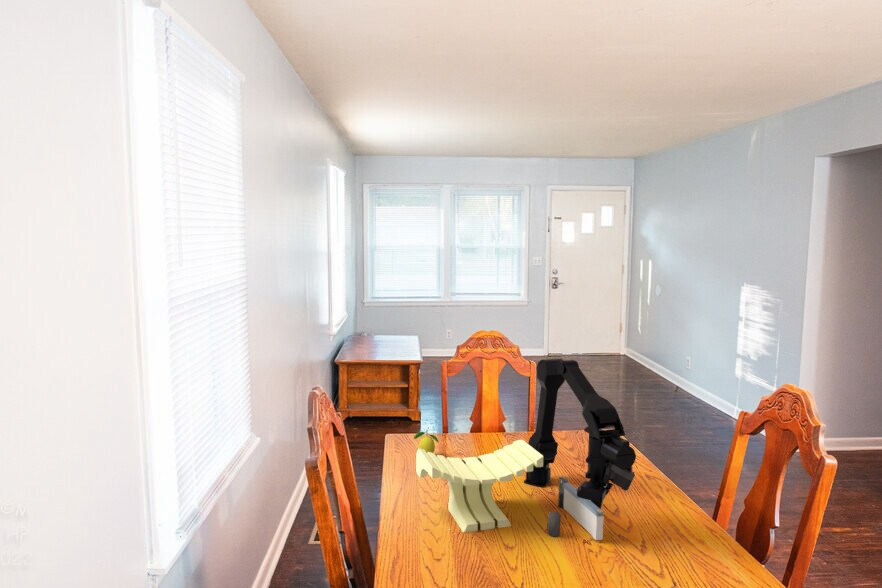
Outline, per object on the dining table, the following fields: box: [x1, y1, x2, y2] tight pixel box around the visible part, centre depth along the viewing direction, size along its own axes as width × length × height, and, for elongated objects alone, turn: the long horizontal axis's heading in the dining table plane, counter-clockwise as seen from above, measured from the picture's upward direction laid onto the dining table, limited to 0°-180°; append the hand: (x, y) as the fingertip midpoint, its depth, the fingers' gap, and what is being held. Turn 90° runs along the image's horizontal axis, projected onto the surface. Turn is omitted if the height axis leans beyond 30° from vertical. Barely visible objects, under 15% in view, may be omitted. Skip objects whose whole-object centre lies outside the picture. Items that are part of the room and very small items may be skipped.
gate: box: [563, 482, 605, 541], centre depth 147 cm, size 18×2×7 cm, turn 15°
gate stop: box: [547, 511, 562, 538], centre depth 142 cm, size 3×3×5 cm
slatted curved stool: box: [415, 439, 543, 533], centre depth 151 cm, size 30×16×18 cm, turn 107°
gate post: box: [557, 476, 569, 510], centre depth 157 cm, size 2×2×8 cm
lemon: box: [413, 428, 439, 454], centre depth 192 cm, size 7×6×10 cm
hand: (597, 511), depth 146 cm, fingers closed
